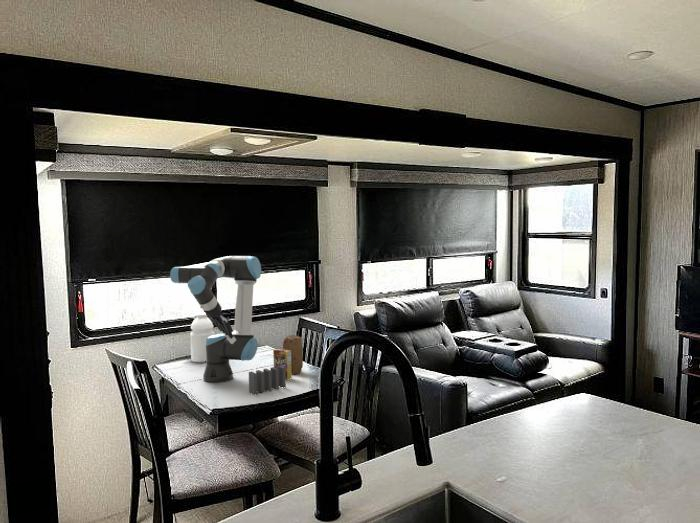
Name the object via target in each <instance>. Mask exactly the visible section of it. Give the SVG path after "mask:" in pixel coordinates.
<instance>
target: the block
mask: <svg viewBox="0 0 700 523" xmlns="http://www.w3.org/2000/svg"><path fill="white" fill-rule="evenodd" d="M282 349H285V350H291V371H292V375H299V374H300V373H301V372H302V369H303V364H304V360H303V358H304V356H303V355H304V354H303V352H304V350H303V340H302V337H301V336H298V335H294V334H290V335H288V336H285V337H284V339H283V341H282ZM298 373H299V374H298Z"/></svg>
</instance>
